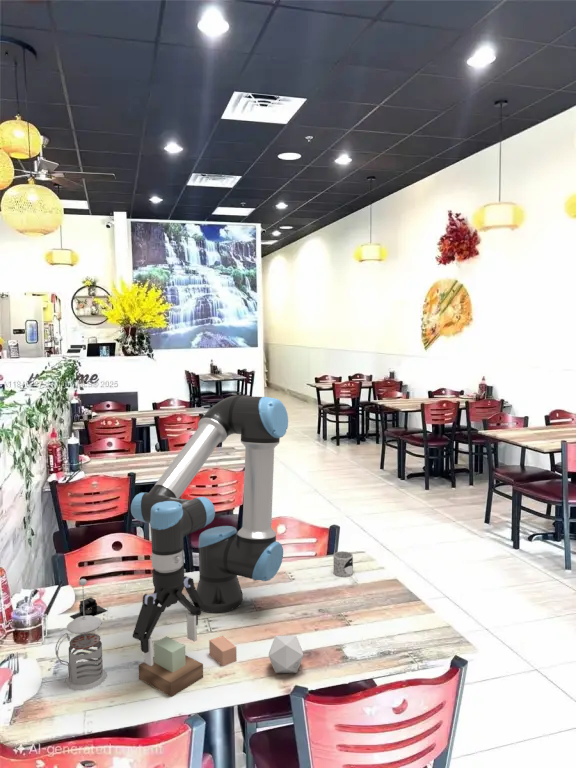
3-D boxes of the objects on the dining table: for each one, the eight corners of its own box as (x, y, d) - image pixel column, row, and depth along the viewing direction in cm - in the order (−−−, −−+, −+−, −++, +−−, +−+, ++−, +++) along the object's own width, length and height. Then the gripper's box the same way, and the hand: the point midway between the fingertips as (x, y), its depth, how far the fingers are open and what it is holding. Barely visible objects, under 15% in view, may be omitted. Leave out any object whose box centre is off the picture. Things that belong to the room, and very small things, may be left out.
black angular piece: (75, 626, 172) (74, 611, 172) (62, 618, 177) (62, 603, 177) (113, 611, 181) (112, 597, 181) (100, 604, 186) (100, 590, 186)
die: (291, 687, 142) (312, 648, 145) (259, 665, 144) (281, 627, 146) (290, 679, 151) (310, 643, 153) (260, 659, 152) (281, 623, 154)
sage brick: (154, 662, 146) (153, 642, 145) (167, 655, 149) (166, 636, 148) (172, 672, 141) (172, 652, 141) (185, 665, 144) (185, 645, 144)
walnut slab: (139, 680, 145) (138, 664, 145) (171, 662, 153) (170, 647, 153) (171, 699, 138) (170, 682, 137) (203, 679, 145) (203, 663, 145)
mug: (347, 578, 203) (347, 559, 202) (330, 574, 206) (330, 556, 206) (359, 568, 212) (359, 550, 211) (342, 565, 215) (342, 547, 214)
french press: (112, 681, 144) (109, 581, 142) (62, 698, 138) (58, 593, 135) (101, 663, 152) (97, 567, 150) (53, 677, 146) (49, 578, 144)
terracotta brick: (209, 654, 156) (209, 640, 156) (222, 650, 158) (222, 635, 158) (222, 666, 150) (222, 651, 150) (236, 661, 153) (236, 646, 152)
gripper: (135, 589, 131) (138, 680, 133) (216, 554, 151) (218, 634, 153) (114, 580, 136) (118, 668, 138) (196, 547, 155) (198, 625, 157)
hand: (171, 651), depth 145 cm, fingers open, 13 cm apart
